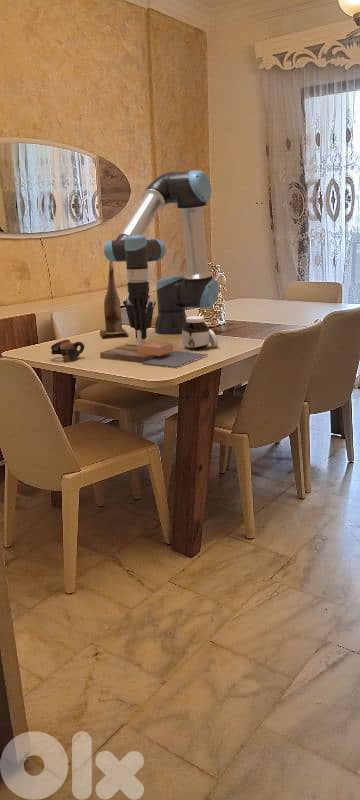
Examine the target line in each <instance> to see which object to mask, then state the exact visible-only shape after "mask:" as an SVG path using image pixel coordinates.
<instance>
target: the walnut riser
mask: <svg viewBox="0 0 360 800" xmlns="http://www.w3.org/2000/svg"><path fill="white" fill-rule="evenodd" d="M137 345H138V344H131V343H129V344H128V343H126V344H123V345H120V346H117V347H113V348H111V349H107V350H103V351H101V352H100V353H99V357H100V359H106V360H116V361H122V362H123V361H125V362H134V363H140V364H141V363H142V364H143V362H146V361H149V360H152V359H154V358H157V357H160V356H156V355H147V354H138V353H137ZM170 353H171V352H170ZM167 354H168V353H167ZM164 355H165V354H164ZM161 356H163V355H161Z"/></svg>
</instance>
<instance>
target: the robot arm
mask: <svg viewBox="0 0 360 800" xmlns="http://www.w3.org/2000/svg"><path fill="white" fill-rule="evenodd" d="M211 197H212V186H211V181H210V178H209V176H207V174H206V173H205V172H204V171H202V170H197V169H196V170H195V169H194V170H192V169H191V170H184V171H183V170H182V171H173V172H172V171H170V172H165V173H163V174H161V175H159V176H158V177H157V178H155V179H153V181H152V182H151V183H150V184H148V186H147V187H146V189H145V190H144V191H143V193H142V198H141V201H140V202H139V204H138V206H136V208H135V210H134V211H133V213H132V214H131V215H130V218H129V219H127V222H126V224H125V225H124V227H122V230H121V231H120V232H119V234H118V236H117V237H116V239H112V240H108V241H106V242H105V244H104V247H103V253H104V256H105V258H106V260H107V261H109V262H110V261H112V262H115V263H116V262H118V263H121V262H122V263H124V262H125V264H126V266H125V267H126V268H125V270H126V280H127V281H128V282H127V285H126V286H127V293H128V296H127V297H128V298H127V299H125V300H124V301H123V302H122V303H123V305H124V307H125V310H126V315H127V319H128V322H129V323H128V324H129V326H130V328H131V329H132V328H133V329H134V332H135V338H136V340H137V345H138V344H141V343H145V342H146V339H147V330H148V329H150V328H152V323H153V314H154V308H155V306H156V301H157V318H156V321H155V325H154V332H155V333H156V334H160V335H161V334H162V335H176V334H182V328H183V326H184V325H185V324H186V323H187V322H186V318H187V317H188V316H187V314H186V308H197V309H198V308H200V309H205V308H206V309H209V308H212V307H213V306H214V305H215V304H216V302H217V300H218V297H219V291H220V288H219V287H220V286H219V283H218V282H219V281H218V280H217V279H214V277H213V273H212V272H210V270H209V265H208V264H209V263H208V251H207V250H208V249H207V239H206V228H205V216H204V210H205V209H206V207H207V205H208V204H207V202H209V201H210V199H211ZM169 204H176V206H177V207H176V209H178V210H179V211H180V212H181V217H182V218H181V219H182V228H183V229H182V230H183V241H184V249H185V260H186V261H185V262H186V270H187V271H186V274H185V275H175V276H169V277H163V278H159V279H158V280H157V281H156V299H157V300H156V301H155V300H152V299H151V297H150V295H149V294H150V293H149V292H150V282H149V263H151V262H157V261H159V260H162V259H163V258H164V257H165V255H166V253H167V252H166V251H167V250H166V245H165V243H164V242H163V241H162V240H160V239H157V238H152V239H147V237H146V235H144V234H145V232H146V231H147V229H148V228H149V227H150V225H151V223H152V222H153V220H154V218H155V216H156V215H157V214H158V212H159V211H161V210H162V209H164V207H165V206H166V205H169Z"/></svg>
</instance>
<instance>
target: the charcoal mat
mask: <svg viewBox="0 0 360 800" xmlns="http://www.w3.org/2000/svg"><path fill="white" fill-rule="evenodd" d="M206 355H208V356H209V354H208V353H199V352H189V351H178V350H173V352H171V353H168V354H165V355H163V356H160V357H157V358H154V359H152V360H149V361H146V362H143V363H142V365H144V366H152V365H157V366H156V367H161V366H168V367H167V368H170V367H179V366H181V365H184V364H186V363H188V362H191V361H193V360H195V359H198V358H201V357H203V356H206ZM206 357H207V356H206ZM201 359H202V358H201ZM191 363H192V362H191ZM186 365H187V364H186ZM184 366H185V365H184ZM181 367H182V366H181ZM179 368H180V367H179Z"/></svg>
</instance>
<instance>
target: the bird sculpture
mask: <svg viewBox="0 0 360 800" xmlns="http://www.w3.org/2000/svg"><path fill="white" fill-rule="evenodd" d="M113 262H114V261H109V264H108V268H109V269H108V283H107V284H108V285H107V291H106V293H105V297H104V301H103V305H104V306H103V310H104V312H103V313H104V322H105V329H104V328H103V329H100V330H99V335H100V337H101V338H102V339H104V338H105V336H106V335H108V334H116V333H117V334H118V333H119V334H120V333H121V334H122V333H123V334H125V335H126V336H127V337H129V333H128V332H127V330H125V329H124V328H123V323H122V322H123V321H122V309H121V307H122V306H121V298H120V297H119V292H118V290H117V288H116V287H117V285H116V280H115V273H114V272H115V269H114V263H113Z"/></svg>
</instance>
